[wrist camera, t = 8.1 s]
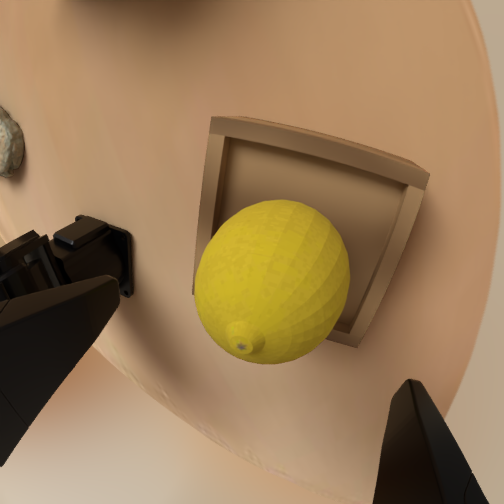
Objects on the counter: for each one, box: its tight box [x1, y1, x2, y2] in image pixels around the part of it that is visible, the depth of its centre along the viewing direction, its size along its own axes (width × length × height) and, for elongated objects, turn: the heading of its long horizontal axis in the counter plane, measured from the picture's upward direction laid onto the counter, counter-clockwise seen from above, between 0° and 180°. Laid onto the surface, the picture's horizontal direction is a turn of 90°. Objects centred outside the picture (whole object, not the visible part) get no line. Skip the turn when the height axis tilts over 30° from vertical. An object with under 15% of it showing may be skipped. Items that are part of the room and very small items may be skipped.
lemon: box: [194, 200, 350, 364], centre depth 11 cm, size 6×6×8 cm
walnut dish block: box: [192, 117, 430, 348], centre depth 16 cm, size 10×10×4 cm
